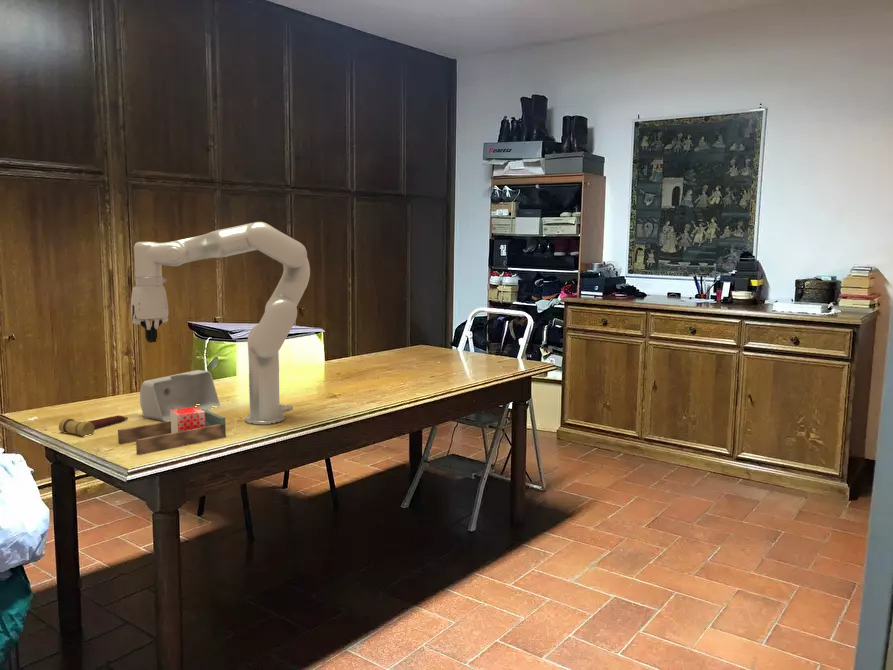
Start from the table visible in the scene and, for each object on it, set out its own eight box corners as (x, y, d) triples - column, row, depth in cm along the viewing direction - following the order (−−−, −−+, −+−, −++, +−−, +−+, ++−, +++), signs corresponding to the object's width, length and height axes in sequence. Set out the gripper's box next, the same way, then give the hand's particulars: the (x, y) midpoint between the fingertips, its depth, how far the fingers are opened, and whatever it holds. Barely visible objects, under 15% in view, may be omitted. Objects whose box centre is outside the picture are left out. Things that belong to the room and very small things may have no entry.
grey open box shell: (188, 401, 261) (186, 367, 259) (220, 406, 254) (219, 371, 252) (129, 416, 239) (127, 379, 238) (163, 422, 232) (161, 384, 230)
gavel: (116, 409, 236) (138, 412, 232) (116, 422, 237) (138, 426, 232) (58, 419, 217) (81, 423, 213) (58, 434, 218) (81, 438, 214)
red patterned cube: (171, 435, 218) (170, 409, 217) (197, 431, 222) (197, 406, 221) (178, 441, 211) (177, 415, 210) (205, 437, 216) (204, 412, 215)
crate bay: (203, 427, 226) (202, 408, 226) (225, 437, 216) (225, 417, 215) (118, 443, 208) (117, 423, 208) (138, 454, 198) (137, 433, 197)
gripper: (167, 280, 227) (170, 338, 230) (119, 282, 217) (122, 342, 220) (178, 282, 222) (180, 341, 225) (128, 284, 212) (131, 345, 214)
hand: (151, 341), depth 222 cm, fingers closed
